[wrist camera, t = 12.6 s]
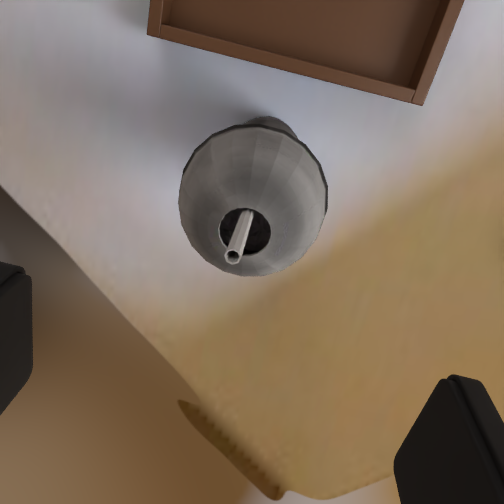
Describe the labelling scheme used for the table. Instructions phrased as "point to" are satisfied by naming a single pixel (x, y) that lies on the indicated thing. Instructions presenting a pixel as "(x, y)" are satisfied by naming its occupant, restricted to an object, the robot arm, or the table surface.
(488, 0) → the table surface
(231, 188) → the beverage cup
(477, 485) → the robot arm
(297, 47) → the tray
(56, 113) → the table surface
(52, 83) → the table surface
